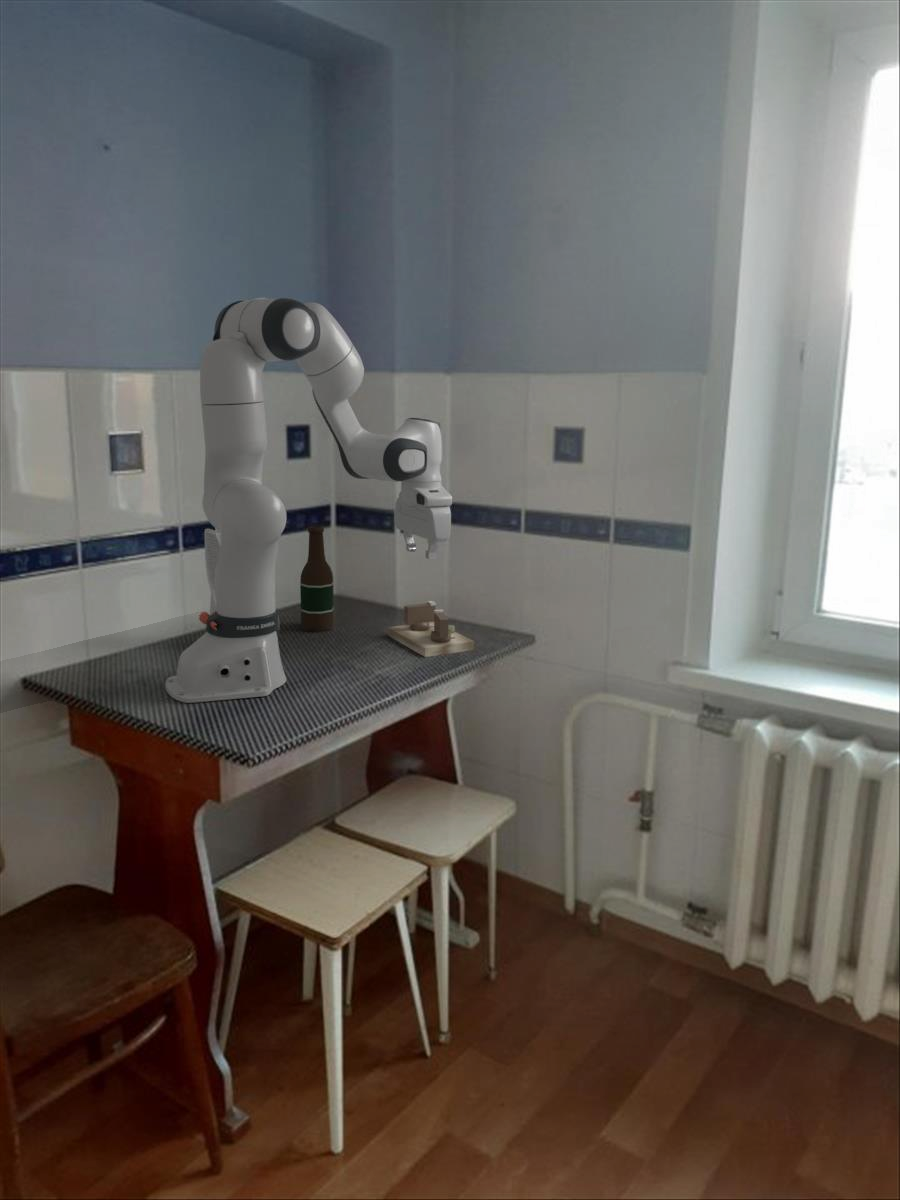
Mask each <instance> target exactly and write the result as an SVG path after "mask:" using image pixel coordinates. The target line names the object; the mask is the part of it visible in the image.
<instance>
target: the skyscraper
mask: <svg viewBox="0 0 900 1200" xmlns="http://www.w3.org/2000/svg"><path fill="white" fill-rule="evenodd" d="M214 529H215V530H214ZM214 529H211V528H205V529H204V556H205V568H206V576H207V581H208V586H209V589H210V601H209V606H210V607H209V615H210V616H211V615H212V614H213V613H214V612H215V611H216V589H215V569H216V567H217V565H218V560H219V554H220V546H221V532H220V530H218V529H216V528H215V527H214Z"/></svg>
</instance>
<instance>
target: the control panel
mask: <svg viewBox="0 0 900 1200" xmlns="http://www.w3.org/2000/svg"><path fill="white" fill-rule="evenodd" d="M432 631H435V630H434V622H429V629H428V630H424V631H416V630H412V629H410V625H407V624H405V625H395V626H389V627H387V636H388V637H390V638H391V639H392V640H395V641H397V642H398V643H400V644H401V645H403V646H405V647H407V648H409V649H410V650H412V651H414V652H415V653H417V654H419V655H420V656H423V657H424V658H427V657H428V658H429V657H435V656H436V657H437V656H443V655H449V654H456V653H463V652H469V651H474V649H475V647H474V646H475V641H474V640H473V639H470V638H469V637H466V636H464V635H462V633H461V634H460V633H459V632H457V631H456V626H455V625H453V624H449V625H448V631H450V632H451V640H450V641H448V642H434V641H432V640H431V632H432Z"/></svg>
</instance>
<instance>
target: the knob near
mask: <svg viewBox="0 0 900 1200" xmlns="http://www.w3.org/2000/svg"><path fill="white" fill-rule="evenodd" d="M448 625H450V624H449V618H448V617H447V615H446V614H445V610H444V609H435V610H434V630H435V631H432V632H431V640H432V641H434V642H448V641H450V640H451V632H450V631H448Z"/></svg>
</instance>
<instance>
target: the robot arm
mask: <svg viewBox="0 0 900 1200" xmlns="http://www.w3.org/2000/svg"><path fill="white" fill-rule="evenodd" d="M216 317H217V318H216V320H215V323H214V334H213V337H212V341H211V342H210V343H207V344H206V345H205V346H204V348H203V350H202V353H201V357H200V366H199V367H200V369H199V370H200V371H199V372H200V373H199V392H200V393H199V395H200V406H201V407H200V408H201V415H202V426H203V434H204V436H203V437H204V448H205V449H204V450H205V451H204V453H205V454H204V455H205V456H204V458H205V459H204V469H203V470H204V471H203V472H204V474H203V495H202V502H201V503H202V504H201V505H202V509H203V512H204V515H205V517H206V519H207V520H208V522H209V523H210V525H211V526H212V527H214V529H215V528H216V529H218V530H220V532H221V546H220V554H219V560H218V565H217V567H216V569H215V589H216V611H215V612H214V613H213V614H212V615H211V616H210V613H208V612H206V611H202V612H200V614H199V615H198V616H199V617H198V620H199V621H200V622H201V623H202V624H203V625H205V626H206V632H205V633H203V635H201V637H199V638H198V639H197V640H195V641H194V642H193V643H192V644H191V645H189V646H188V647H187V648H186V649H185V650H184V651H182V653H181V654H179V655H180V656H179V657H178V662H177V668H176V675H172V676H169V677H168V678H167V679H166V680H165V686H164V687H165V688H164V689H165V692H166V693H167V694H168V695H169V696H170V697H171V698H173V699H174V700H176V701H178V702H182V703H187V704H191V703H202V702H215V701H225V700H227V701H228V700H236V699H237V700H238V699H247V698H257V697H267V696H269V695H270V694H271V693H272V692H273V691H274V690H275V689H277V688H279V687H281V686H283V685H284V684H285V683H286V682H287V676H286V673H285V671H284V667H283V663H282V658H281V653H280V646H279V640H278V638H279V636H280V618H279V610H278V608H277V606H276V605H277V604H276V603H277V602H276V601H277V600H276V595H277V594H276V566H277V558H278V553H279V547H280V546H279V545H280V541H281V534H282V533H284V532H283V531H284V530H285V528H286V525H287V517H288V516H287V511H286V508H285V505H284V503H283V502H282V500H281V498H279V496H278V495H277V493H275V491H273V490H272V489H271V488H269V487H268V486H266V485H263V468H264V459H265V454H266V451H267V448H268V434H267V432H268V431H267V420H266V409H265V408H266V407H265V398H264V397H265V396H264V389H263V382H262V375H263V372H264V367H265V365H266V363H273V362H281V361H288V362H289V361H294V360H295V361H296V362H297V365H298V366H299V368H300V370H301V371H302V373H303V374H304V376H305V377H306V379H307V381H308V382H309V383H310V386H311V389H312V396H313V399H314V402H315V404H316V406H317V407H318V410H319V412H320V414H321V416H322V418H323V419H324V422H325V423H326V427H328V429H329V432H331V435H332V436H333V439H334V441H335V442H336V445H337V447H338V448H337V449H338V451H339V456H340V459H341V463H342V466H343V468H344V469H345V471H346V472H347V474H349V476H351V477H353V478H355V479H360V480H361V479H362V480H363V479H364V480H368V479H369V480H378V481H384V482H385V481H387V482H395V483H398V482H400V485H401V486H400V487H401V488H400V489H401V490H400V492H399V495H398V497H397V499H396V502H395V507H394V517H393V518H394V526H395V529H397V530H400V531H403V539H404V541H405V550H406V552H410V553H414V552H416V551H417V548H416V547H417V543H415V539H414V536H417V537H420V538H423V539H426V540H427V545H428V547H427V550H425V558H426V560H429V561H431V560H436V559H437V550H438V548H439V546H440V542H448V540H449V538H450V536H451V526H452V512H451V509H450V506H452V504H453V497H452V495H451V493H449V491H447V490H446V489H445V488H444V486H443V485H442V480H443V478H442V475H441V474H442V473H441V464H442V461H443V440H442V432H441V429H440V426H439V424H438V423H437V422H436V421H434V420H430V419H427V418H419V417H407V418H405V420H404V422H403V424H401V426H400V427H399V428H397V429H396V430H394V431H392V432H391V433H389V434H378V433H374V432H370V431H368V430H367V429H365V428H364V427H362V426H361V424H360V422H359V420H358V418H357V416H356V414H355V412H354V410H353V408H352V406H351V405H350V402H349V398H351V397H352V396H353V395H354V394H355V393H356V392H357V390H358V389H359V388H360V386H361V384H362V382H363V379H364V376H365V367H364V363H363V361H362V358H361V356H360V354H359V352H358V350H357V348H356V346H354V344H353V342H352V340H351V339H350V338H349V336H348V335H347V333H346V332H345V330H344V328H342V326H341V325H340V323H339V322H338V321H337V319H336V318H335V317H334V316H333V315H332V313H330V312H329V310H328V309H327V308H326V307H324V306H323V305H322V304H320V303H318V302H312V301H311V302H305V303H302V302H300V301H298V300H295V299H292V298H287V297H281V298H266V297H257V298H251V299H246V300H237V301H235V302H232V303H229V304H228V305H226V306H225V307H223V309H221V310H220V312H219V313H218V315H217V316H216Z"/></svg>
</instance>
